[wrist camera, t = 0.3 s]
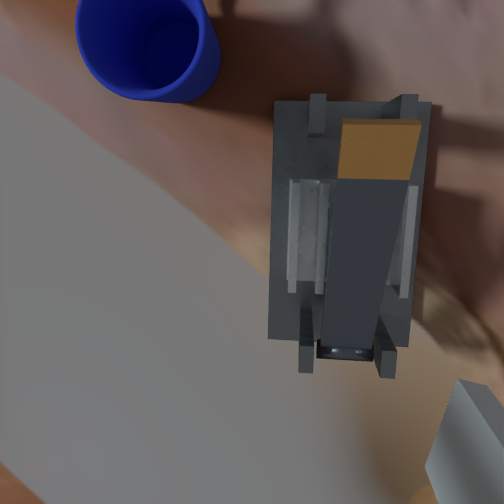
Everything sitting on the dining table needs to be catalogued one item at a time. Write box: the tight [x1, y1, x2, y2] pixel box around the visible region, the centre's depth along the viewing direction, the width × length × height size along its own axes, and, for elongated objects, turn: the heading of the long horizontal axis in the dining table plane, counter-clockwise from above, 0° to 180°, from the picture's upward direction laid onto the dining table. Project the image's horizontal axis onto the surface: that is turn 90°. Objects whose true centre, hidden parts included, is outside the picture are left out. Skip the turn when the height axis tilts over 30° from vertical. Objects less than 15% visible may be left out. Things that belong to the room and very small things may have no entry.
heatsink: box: [268, 94, 432, 379], centre depth 35 cm, size 20×12×9 cm, turn 179°
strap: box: [316, 119, 422, 362], centre depth 28 cm, size 19×4×1 cm, turn 178°
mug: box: [76, 0, 221, 103], centre depth 32 cm, size 8×12×10 cm
